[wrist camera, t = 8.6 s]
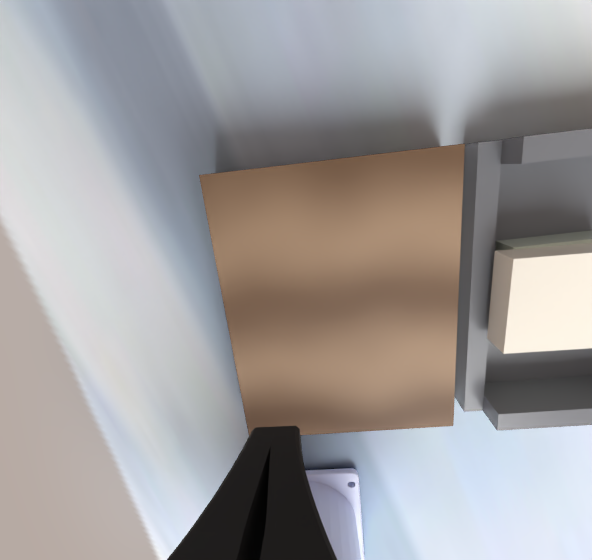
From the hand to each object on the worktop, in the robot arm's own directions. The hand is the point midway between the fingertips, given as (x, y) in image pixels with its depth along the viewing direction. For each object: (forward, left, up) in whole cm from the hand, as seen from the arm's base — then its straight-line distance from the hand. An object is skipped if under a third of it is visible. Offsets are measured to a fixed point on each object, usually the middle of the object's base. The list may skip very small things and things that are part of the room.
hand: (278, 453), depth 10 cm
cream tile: (+1, -12, -8) cm, 14 cm away
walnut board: (+1, -3, -9) cm, 10 cm away
